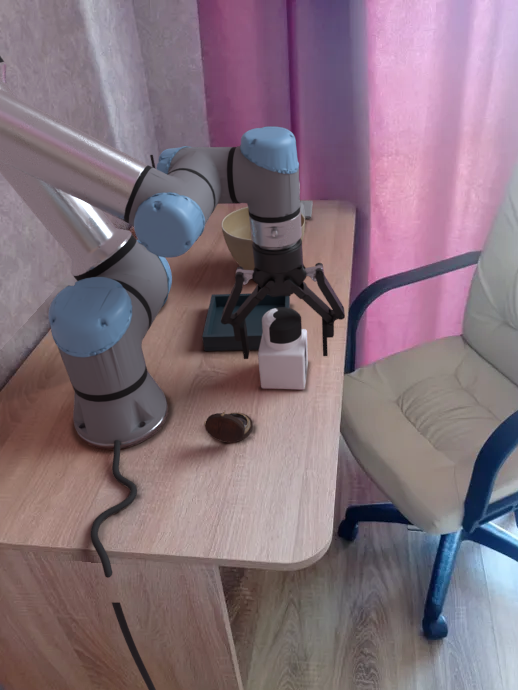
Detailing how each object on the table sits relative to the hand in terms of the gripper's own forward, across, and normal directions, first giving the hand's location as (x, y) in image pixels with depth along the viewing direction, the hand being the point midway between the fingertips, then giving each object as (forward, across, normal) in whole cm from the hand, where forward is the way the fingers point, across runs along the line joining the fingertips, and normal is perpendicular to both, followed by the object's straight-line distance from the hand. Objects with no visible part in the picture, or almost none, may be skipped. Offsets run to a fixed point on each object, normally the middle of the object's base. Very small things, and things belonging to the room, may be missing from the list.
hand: (285, 353), depth 101 cm
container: (+5, 0, 0) cm, 5 cm away
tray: (+5, -8, +16) cm, 18 cm away
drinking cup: (+5, -32, +59) cm, 68 cm away
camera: (+5, 0, +64) cm, 64 cm away
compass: (+5, -10, -14) cm, 18 cm away
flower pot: (+5, -6, +38) cm, 39 cm away
